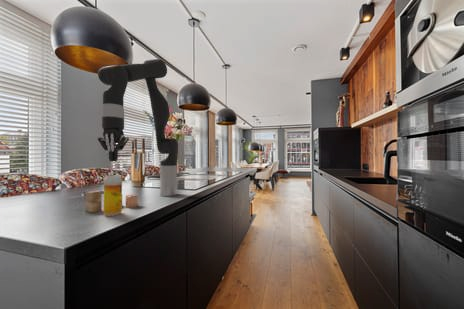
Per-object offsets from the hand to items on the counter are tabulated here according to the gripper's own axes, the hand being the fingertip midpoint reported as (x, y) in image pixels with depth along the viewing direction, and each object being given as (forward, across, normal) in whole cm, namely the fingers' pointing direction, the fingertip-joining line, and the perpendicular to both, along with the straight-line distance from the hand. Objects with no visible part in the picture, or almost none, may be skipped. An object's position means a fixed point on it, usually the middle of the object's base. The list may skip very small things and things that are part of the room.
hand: (113, 161), depth 80 cm
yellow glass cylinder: (+21, 0, 0) cm, 21 cm away
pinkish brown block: (+21, +2, -12) cm, 24 cm away
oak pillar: (+21, +12, -2) cm, 24 cm away
